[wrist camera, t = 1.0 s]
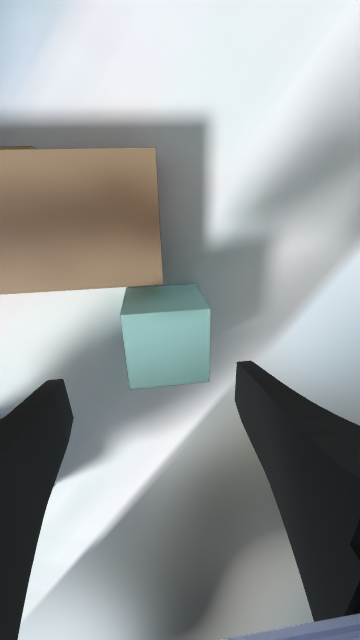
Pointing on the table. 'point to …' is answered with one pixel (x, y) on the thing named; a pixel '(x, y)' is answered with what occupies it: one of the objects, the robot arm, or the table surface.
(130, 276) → the pencil box
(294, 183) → the table surface
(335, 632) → the robot arm
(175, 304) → the teal cube
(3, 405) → the table surface
